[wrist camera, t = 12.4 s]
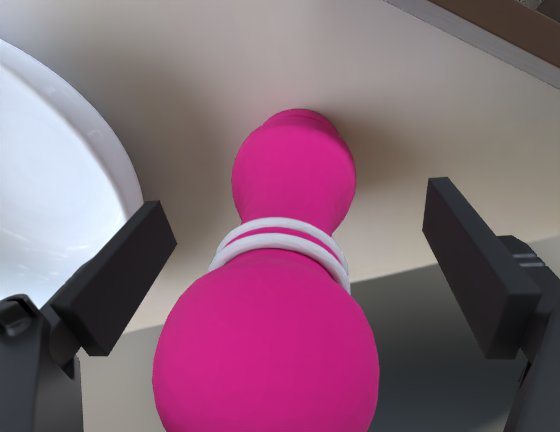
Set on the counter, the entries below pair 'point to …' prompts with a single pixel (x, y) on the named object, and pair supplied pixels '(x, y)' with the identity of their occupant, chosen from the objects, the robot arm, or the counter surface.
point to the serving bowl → (55, 179)
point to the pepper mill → (274, 300)
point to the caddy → (500, 30)
